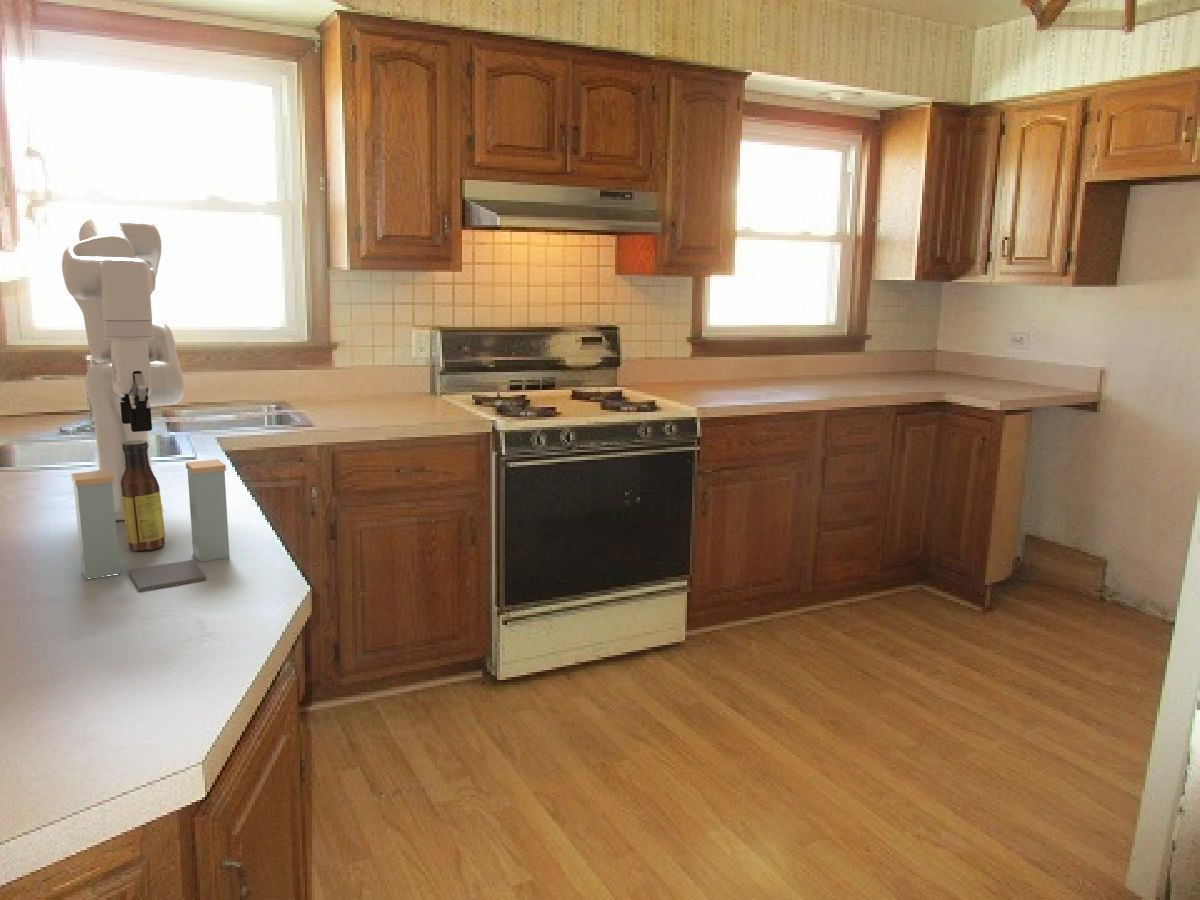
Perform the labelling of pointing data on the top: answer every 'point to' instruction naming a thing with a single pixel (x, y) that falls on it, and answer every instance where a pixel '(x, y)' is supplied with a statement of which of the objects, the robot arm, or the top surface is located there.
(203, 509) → the canister
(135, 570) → the plate
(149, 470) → the sauce bottle
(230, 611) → the top surface
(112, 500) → the canister
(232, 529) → the top surface
